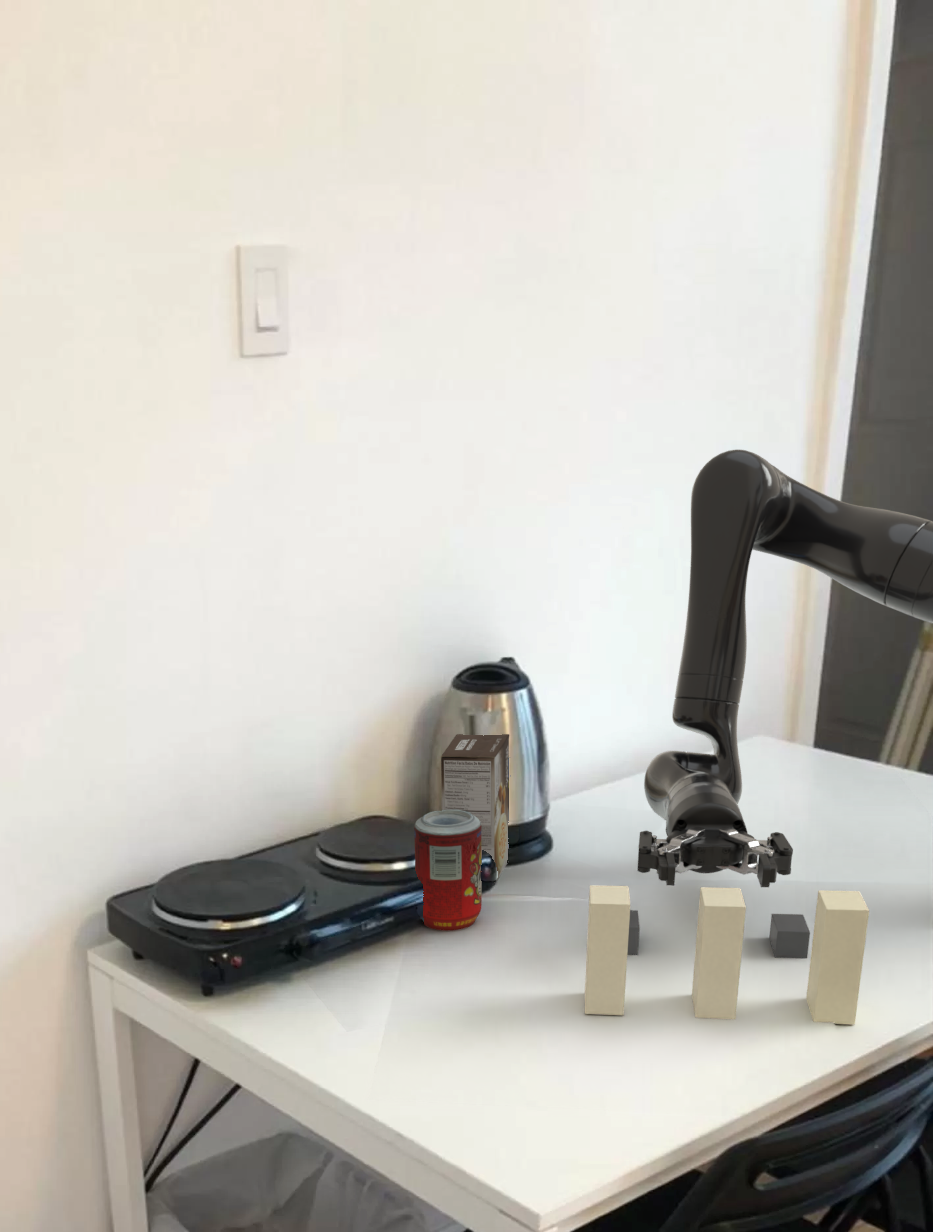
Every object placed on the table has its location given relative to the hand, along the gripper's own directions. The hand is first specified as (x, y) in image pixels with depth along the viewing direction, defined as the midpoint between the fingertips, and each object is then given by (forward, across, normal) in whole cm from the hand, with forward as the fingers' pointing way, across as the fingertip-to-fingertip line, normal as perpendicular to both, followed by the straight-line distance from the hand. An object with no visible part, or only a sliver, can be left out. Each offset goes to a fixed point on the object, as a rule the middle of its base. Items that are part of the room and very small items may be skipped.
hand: (718, 876), depth 141 cm
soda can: (-13, -26, +11) cm, 31 cm away
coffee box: (-29, -24, +10) cm, 39 cm away
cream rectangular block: (+7, -10, +11) cm, 16 cm away
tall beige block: (+7, 0, +11) cm, 13 cm away
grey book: (-7, -8, +11) cm, 15 cm away
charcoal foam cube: (-7, +8, +11) cm, 15 cm away
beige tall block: (+7, +10, +11) cm, 16 cm away
